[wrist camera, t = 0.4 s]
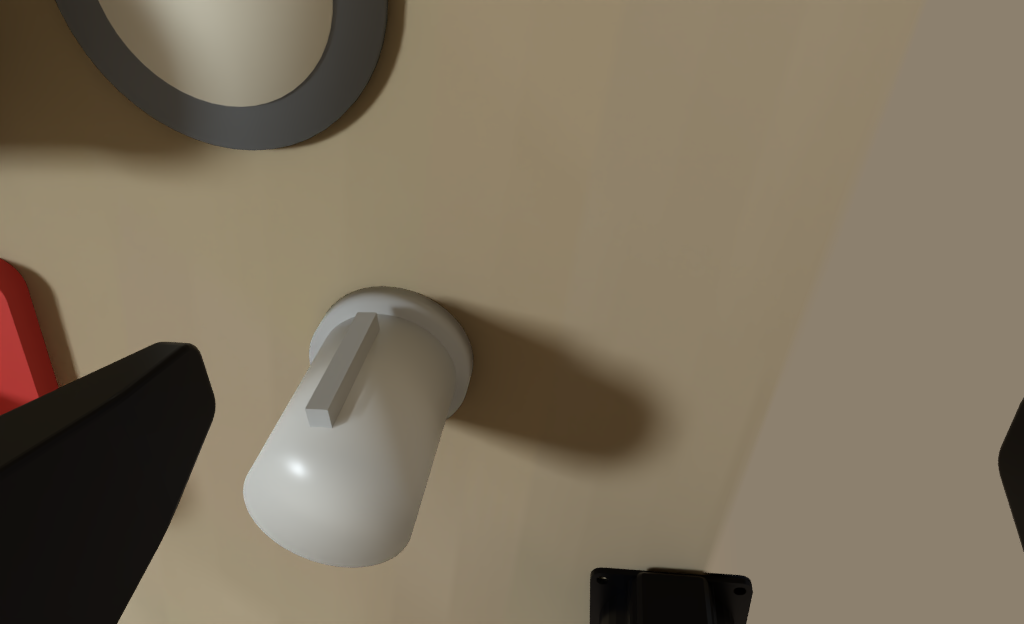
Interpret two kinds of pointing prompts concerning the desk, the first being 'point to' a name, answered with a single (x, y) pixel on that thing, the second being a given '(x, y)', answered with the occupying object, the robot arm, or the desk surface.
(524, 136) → the desk surface
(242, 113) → the flange
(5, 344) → the bracket
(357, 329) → the white knob
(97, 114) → the desk surface
